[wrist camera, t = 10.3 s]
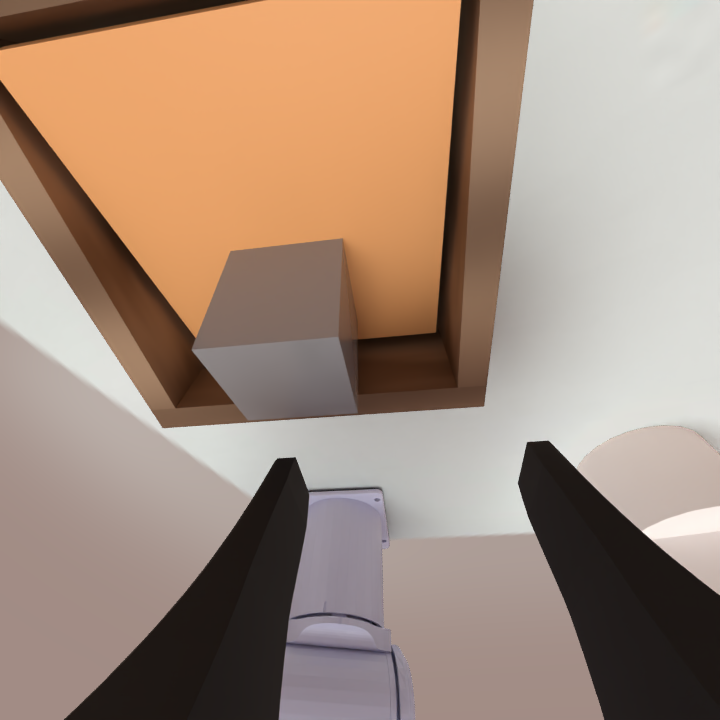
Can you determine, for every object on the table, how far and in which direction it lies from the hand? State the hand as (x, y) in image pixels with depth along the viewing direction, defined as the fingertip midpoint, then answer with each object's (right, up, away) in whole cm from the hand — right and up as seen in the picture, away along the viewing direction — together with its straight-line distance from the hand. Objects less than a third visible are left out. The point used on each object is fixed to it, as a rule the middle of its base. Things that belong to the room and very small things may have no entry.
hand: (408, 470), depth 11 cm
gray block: (-4, +7, +4) cm, 9 cm away
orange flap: (-5, +9, +2) cm, 10 cm away
